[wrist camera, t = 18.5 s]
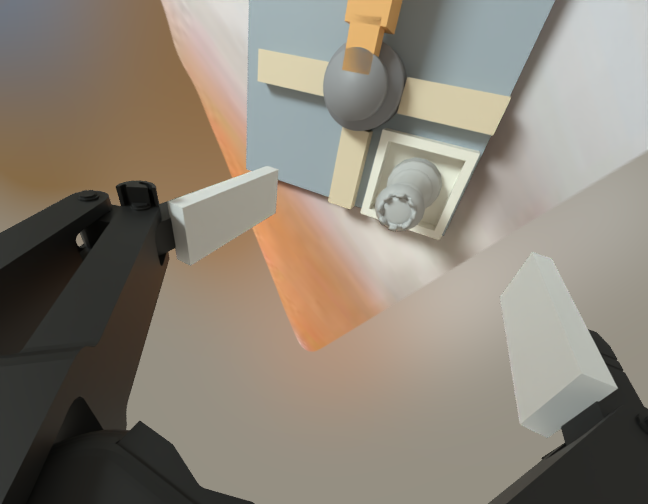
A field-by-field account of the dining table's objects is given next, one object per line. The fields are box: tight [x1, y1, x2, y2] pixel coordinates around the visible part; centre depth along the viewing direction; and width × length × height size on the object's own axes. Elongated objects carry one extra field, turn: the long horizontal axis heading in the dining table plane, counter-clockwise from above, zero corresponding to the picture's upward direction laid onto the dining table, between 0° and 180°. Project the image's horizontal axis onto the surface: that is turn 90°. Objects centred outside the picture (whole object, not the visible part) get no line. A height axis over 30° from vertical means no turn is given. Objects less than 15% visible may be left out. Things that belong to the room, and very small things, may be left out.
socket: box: [360, 128, 480, 240], centre depth 23 cm, size 7×7×2 cm
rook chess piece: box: [375, 157, 442, 231], centre depth 21 cm, size 4×4×8 cm
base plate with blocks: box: [246, 0, 555, 236], centre depth 22 cm, size 20×22×4 cm
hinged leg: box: [324, 0, 403, 121], centre depth 18 cm, size 12×4×2 cm, turn 169°
